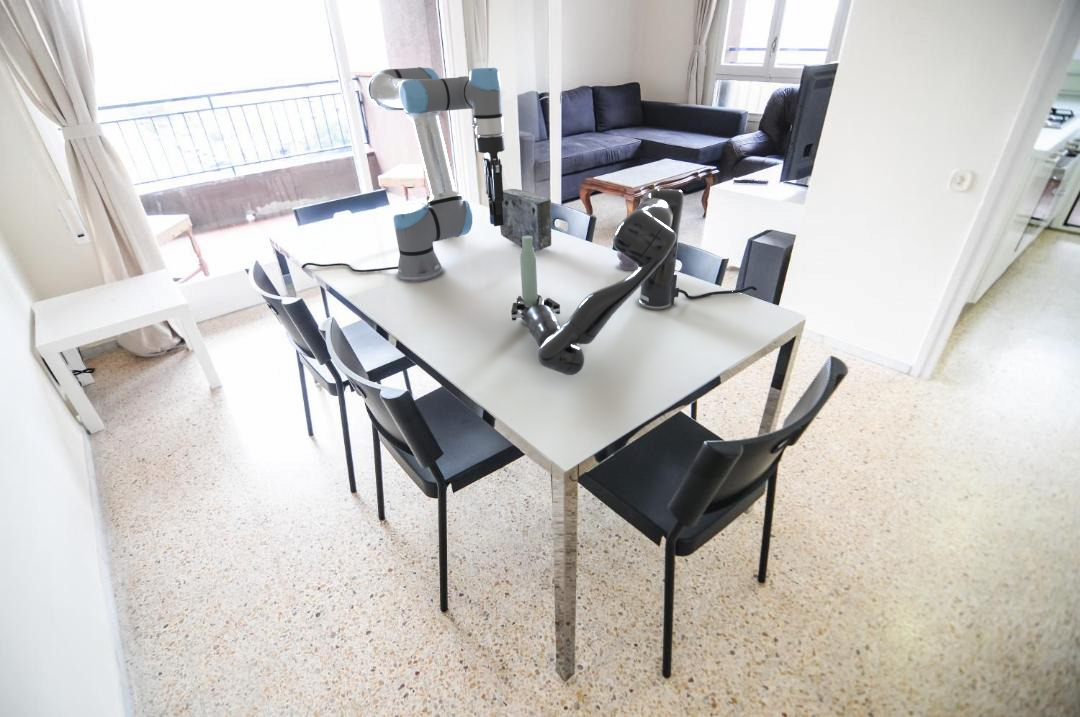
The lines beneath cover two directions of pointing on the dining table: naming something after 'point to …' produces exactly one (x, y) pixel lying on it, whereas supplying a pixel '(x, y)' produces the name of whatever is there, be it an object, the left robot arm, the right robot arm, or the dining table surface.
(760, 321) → the dining table surface
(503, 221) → the cap
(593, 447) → the dining table surface
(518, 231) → the concrete block
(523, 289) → the bottle
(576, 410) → the dining table surface
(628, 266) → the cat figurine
